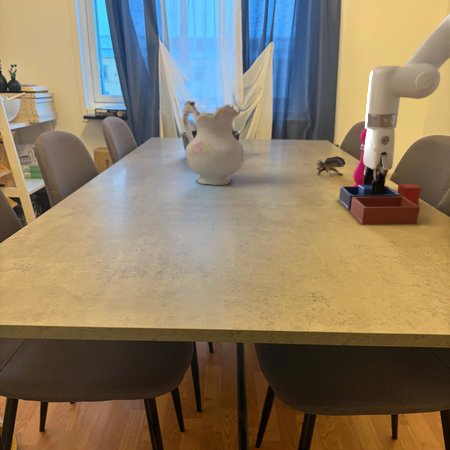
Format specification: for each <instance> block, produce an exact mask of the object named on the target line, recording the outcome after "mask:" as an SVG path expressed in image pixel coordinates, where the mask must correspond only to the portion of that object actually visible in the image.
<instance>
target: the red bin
mask: <svg viewBox="0 0 450 450" xmlns="http://www.w3.org/2000/svg"><path fill="white" fill-rule="evenodd" d="M420 209H421V206H419V204H414V203H413V202H411V201H410V200H408V199H407V198H405V197H404V196H391V197H352V203H351V211H349V213H350V214H351V215H352V217H354V218H355V219H356V220H357V221H358V222H359V224H361V225H417V224H418V218H419V214H420Z"/></svg>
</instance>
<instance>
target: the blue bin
mask: <svg viewBox="0 0 450 450" xmlns="http://www.w3.org/2000/svg"><path fill="white" fill-rule="evenodd" d="M358 190H359V186H353V185H351V186H349V185H348V186H347V185H345V186H340V188H339V195H338V202H339V203H340V204H341V205H342V206H343V207H344V208H345V209H346V210H347V211H348V212H350V211H351V203H352V197H391V196H401V195H400V194H399V193H397V191H396V190H394V189H393V188H391V187H390V186H388V185H385V187H384V194H381V195H358Z"/></svg>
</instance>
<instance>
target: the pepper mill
mask: <svg viewBox="0 0 450 450" xmlns="http://www.w3.org/2000/svg"><path fill="white" fill-rule="evenodd" d="M366 134H367V129H366V128H365V127H364V128H363V129H362V130H361V132H360V136H359V139H360V141H361V144H360V150H361V156H360V159H359V162H358V163H357V165H356V167H355V169H354V171H353V174H352V178H353V181H354V184H353V185H352V186H359V185H363V180H364V170H365V167H364V166H365V164H364V162H363V156H364V147H365V140H366ZM378 173H379V172H377V175H378Z"/></svg>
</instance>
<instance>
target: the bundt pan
mask: <svg viewBox="0 0 450 450" xmlns="http://www.w3.org/2000/svg"><path fill="white" fill-rule="evenodd" d="M191 131H192V135H193V138H195V137H196V135H197V129H196V130H191ZM232 134H233V136H234V138H235V139H236V140H238V141H239V142H240V136H241V131H240V130H232ZM180 136H181V140H182V144H183V149H184V151H185V152H186V147H187V146H188V144H189V143H190V141H189V139H188V137H187V136H186V133H185V131H182V132H180Z"/></svg>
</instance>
